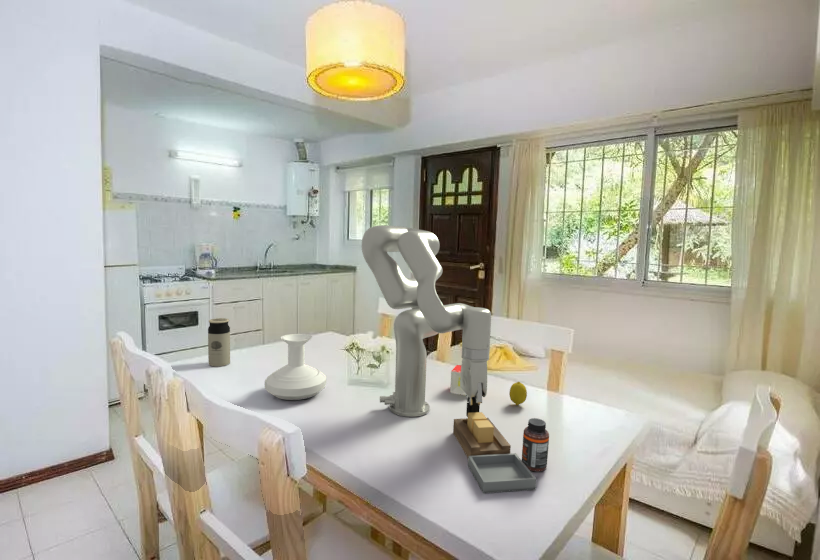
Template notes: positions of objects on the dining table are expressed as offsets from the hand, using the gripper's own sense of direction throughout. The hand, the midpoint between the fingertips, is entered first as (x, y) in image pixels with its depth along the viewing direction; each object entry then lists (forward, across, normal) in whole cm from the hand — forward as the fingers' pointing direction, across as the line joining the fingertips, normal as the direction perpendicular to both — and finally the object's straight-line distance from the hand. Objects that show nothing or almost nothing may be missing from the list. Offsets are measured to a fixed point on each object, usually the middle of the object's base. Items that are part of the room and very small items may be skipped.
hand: (472, 417), depth 119 cm
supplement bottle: (+5, +18, +10) cm, 21 cm away
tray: (+5, +22, 0) cm, 22 cm away
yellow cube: (+2, +4, 0) cm, 5 cm away
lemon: (+5, -18, +21) cm, 28 cm away
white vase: (+4, -34, -50) cm, 61 cm away
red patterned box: (+5, -32, +8) cm, 33 cm away
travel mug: (+4, -68, -83) cm, 108 cm away
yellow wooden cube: (+2, +9, 0) cm, 9 cm away
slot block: (+5, +7, 0) cm, 9 cm away
